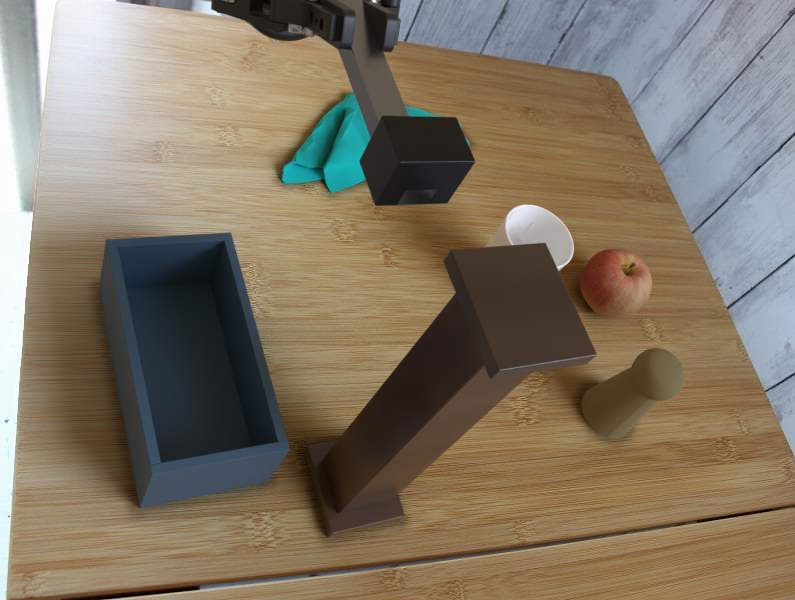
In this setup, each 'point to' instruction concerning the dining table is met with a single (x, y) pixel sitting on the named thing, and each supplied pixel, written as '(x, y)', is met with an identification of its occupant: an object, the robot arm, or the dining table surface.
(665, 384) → the olive game pawn
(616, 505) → the dining table surface
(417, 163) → the grey mallet
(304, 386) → the dining table surface
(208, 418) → the bin
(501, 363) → the stand
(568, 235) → the white cup
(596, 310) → the apple
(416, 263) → the dining table surface
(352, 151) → the cloth
